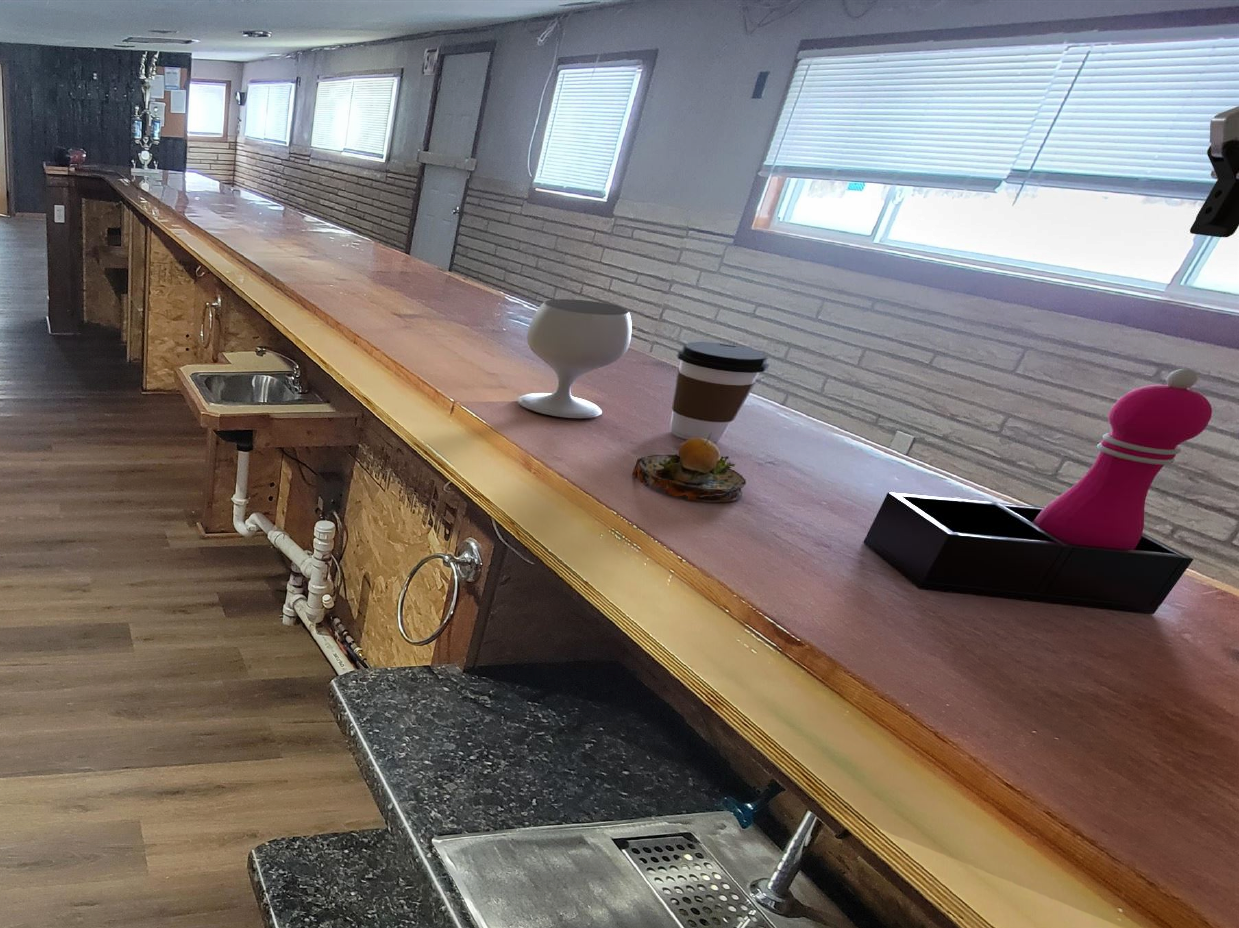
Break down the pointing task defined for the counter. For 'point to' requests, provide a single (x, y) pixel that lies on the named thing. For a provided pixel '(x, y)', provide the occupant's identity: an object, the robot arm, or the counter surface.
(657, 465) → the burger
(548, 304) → the chalice
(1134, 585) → the divided box
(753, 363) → the coffee cup
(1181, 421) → the pepper mill
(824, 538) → the counter surface
